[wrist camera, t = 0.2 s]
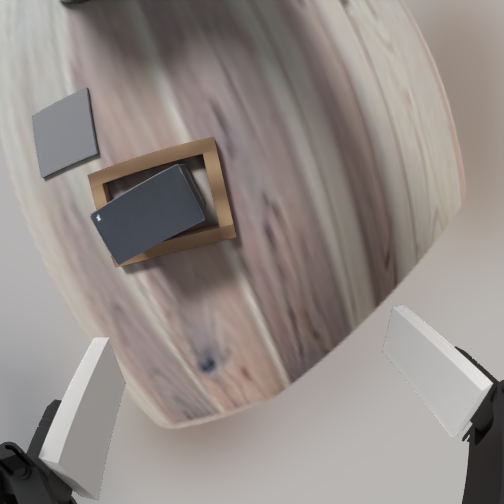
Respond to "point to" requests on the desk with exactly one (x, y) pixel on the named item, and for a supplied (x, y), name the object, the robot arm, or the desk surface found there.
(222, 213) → the wooden frame
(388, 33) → the desk surface
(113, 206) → the small box
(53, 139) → the mat
